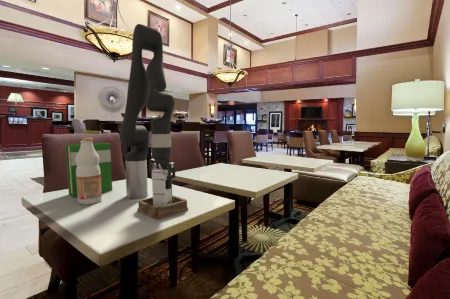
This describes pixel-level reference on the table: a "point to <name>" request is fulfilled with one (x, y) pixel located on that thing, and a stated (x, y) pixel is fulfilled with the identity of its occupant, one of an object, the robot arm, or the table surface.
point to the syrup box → (160, 189)
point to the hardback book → (104, 165)
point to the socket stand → (162, 208)
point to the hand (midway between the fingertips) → (162, 187)
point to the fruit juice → (88, 173)
